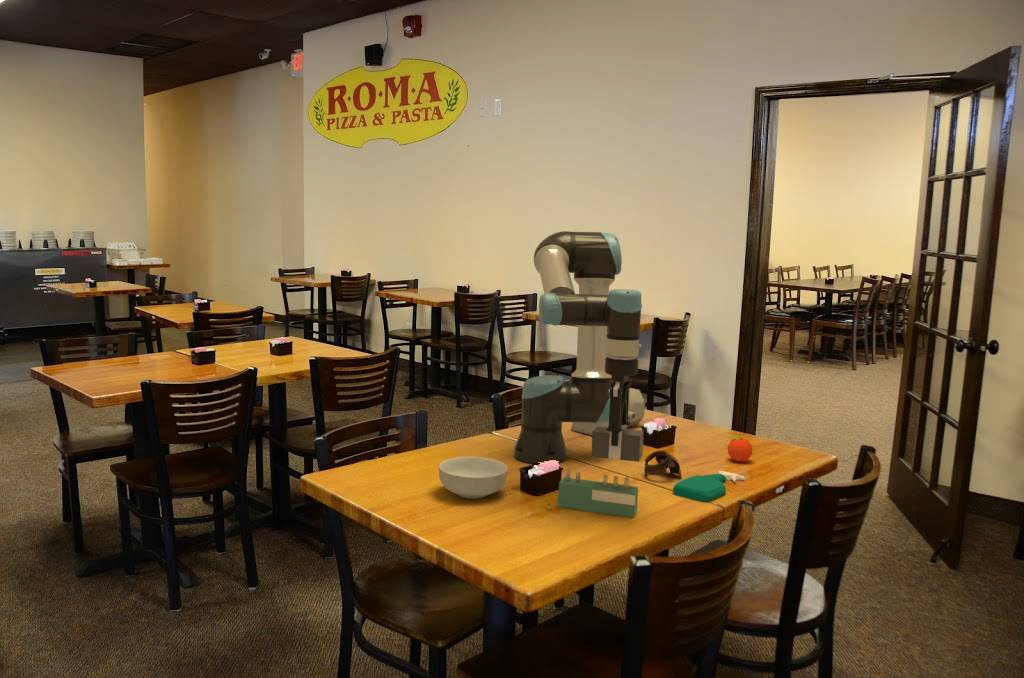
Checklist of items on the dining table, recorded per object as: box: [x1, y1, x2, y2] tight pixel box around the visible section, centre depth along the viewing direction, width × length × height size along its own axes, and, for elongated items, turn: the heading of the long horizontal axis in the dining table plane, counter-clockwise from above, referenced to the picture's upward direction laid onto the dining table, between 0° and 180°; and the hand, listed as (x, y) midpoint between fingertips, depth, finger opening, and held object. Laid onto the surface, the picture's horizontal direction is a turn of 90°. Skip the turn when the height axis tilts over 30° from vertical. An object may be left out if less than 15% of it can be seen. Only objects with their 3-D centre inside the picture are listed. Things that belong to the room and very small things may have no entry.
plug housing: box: [590, 426, 644, 463], centre depth 186 cm, size 11×6×6 cm, turn 73°
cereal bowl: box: [438, 456, 509, 500], centre depth 197 cm, size 17×17×7 cm
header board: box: [557, 469, 639, 519], centre depth 189 cm, size 18×5×8 cm, turn 73°
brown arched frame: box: [643, 449, 683, 480], centre depth 217 cm, size 12×10×8 cm
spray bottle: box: [672, 470, 746, 503], centre depth 208 cm, size 3×11×24 cm
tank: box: [570, 387, 646, 436], centre depth 264 cm, size 25×16×12 cm, turn 135°
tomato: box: [724, 437, 753, 463], centre depth 233 cm, size 8×7×7 cm
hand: (616, 455), depth 187 cm, fingers closed on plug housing, 6 cm apart
